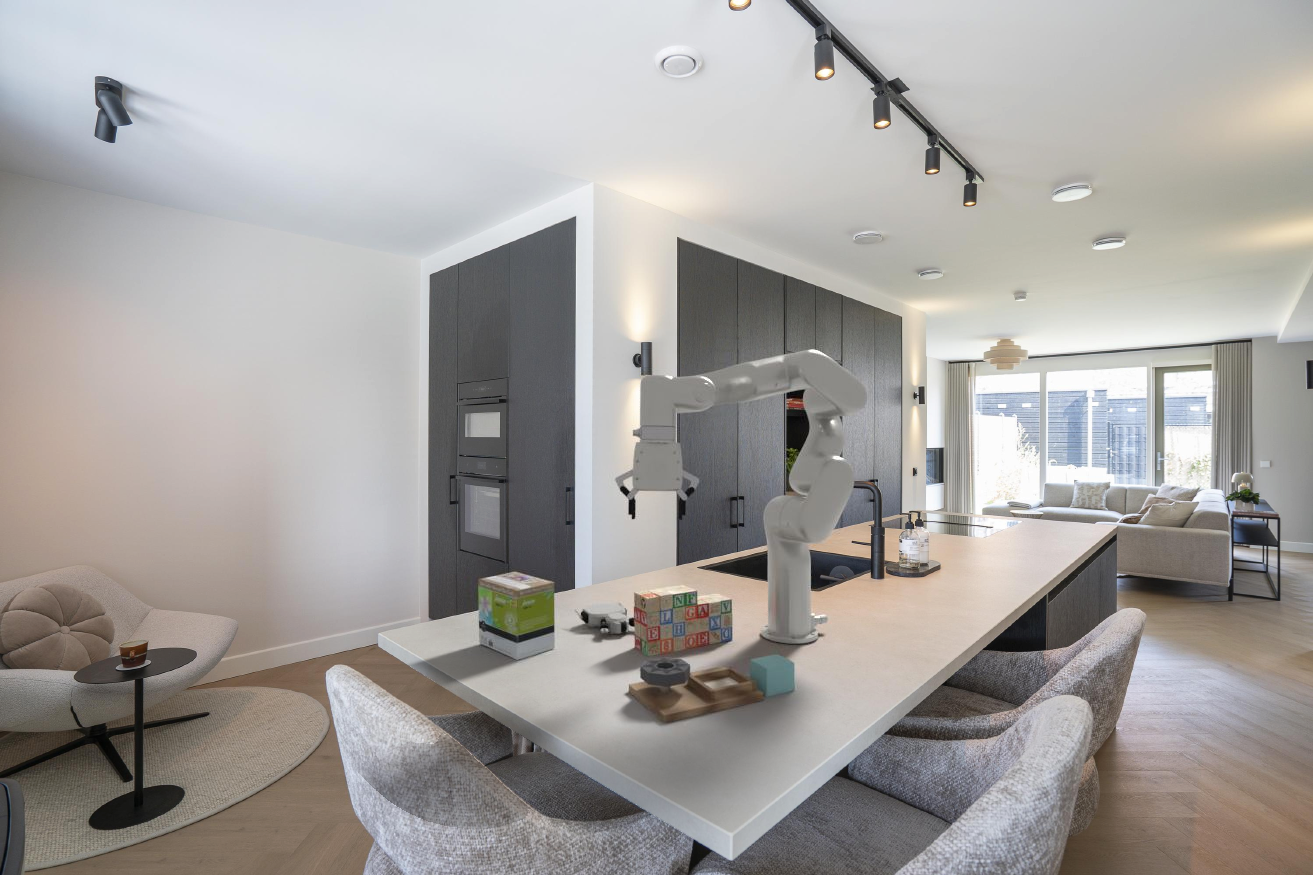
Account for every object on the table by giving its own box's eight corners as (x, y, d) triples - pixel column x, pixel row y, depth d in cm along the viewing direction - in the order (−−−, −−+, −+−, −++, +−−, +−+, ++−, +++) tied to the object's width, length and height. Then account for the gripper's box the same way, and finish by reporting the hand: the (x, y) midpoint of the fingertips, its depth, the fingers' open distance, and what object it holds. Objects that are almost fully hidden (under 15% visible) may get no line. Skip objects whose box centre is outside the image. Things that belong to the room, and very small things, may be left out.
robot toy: (648, 636, 147) (617, 616, 160) (648, 617, 147) (618, 598, 159) (600, 645, 140) (573, 623, 153) (601, 625, 140) (573, 605, 153)
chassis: (719, 672, 121) (719, 650, 121) (763, 699, 109) (763, 675, 109) (628, 691, 113) (628, 667, 113) (664, 722, 100) (664, 696, 100)
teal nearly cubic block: (777, 681, 117) (777, 654, 117) (794, 690, 113) (794, 662, 113) (750, 686, 115) (750, 659, 115) (767, 697, 110) (766, 668, 110)
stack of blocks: (717, 633, 146) (717, 579, 146) (733, 640, 140) (732, 585, 140) (633, 648, 136) (633, 590, 136) (646, 657, 131) (646, 597, 131)
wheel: (674, 665, 115) (674, 654, 115) (696, 680, 108) (696, 669, 108) (634, 673, 112) (634, 661, 112) (654, 689, 104) (654, 677, 104)
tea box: (476, 645, 138) (476, 577, 138) (515, 634, 146) (515, 570, 146) (517, 661, 128) (516, 588, 128) (556, 649, 136) (556, 580, 136)
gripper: (614, 434, 126) (613, 520, 126) (701, 436, 127) (700, 521, 127) (616, 435, 134) (615, 516, 134) (698, 436, 134) (697, 517, 134)
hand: (656, 518), depth 130 cm, fingers open, 9 cm apart
